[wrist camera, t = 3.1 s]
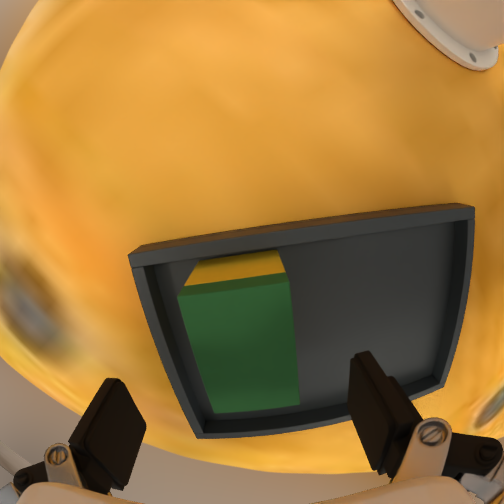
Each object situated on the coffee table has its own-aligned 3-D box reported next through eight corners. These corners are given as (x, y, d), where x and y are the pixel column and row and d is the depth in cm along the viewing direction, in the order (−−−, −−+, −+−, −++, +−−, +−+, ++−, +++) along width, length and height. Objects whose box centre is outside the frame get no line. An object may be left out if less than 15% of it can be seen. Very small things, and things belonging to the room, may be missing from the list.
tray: (141, 245, 16) (127, 254, 14) (456, 202, 15) (475, 206, 13) (199, 421, 20) (196, 439, 18) (433, 374, 19) (443, 387, 17)
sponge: (198, 260, 15) (176, 296, 11) (277, 248, 15) (289, 281, 10) (221, 359, 17) (214, 413, 12) (289, 351, 17) (300, 404, 12)
